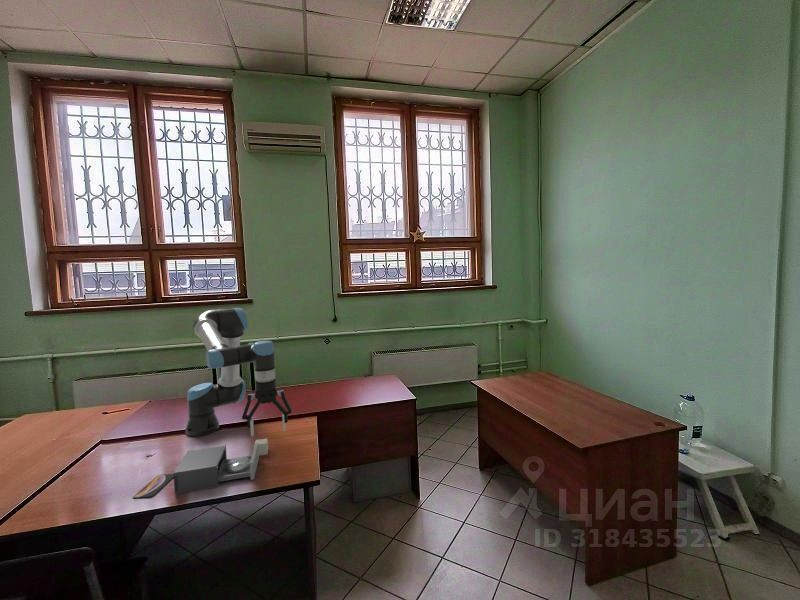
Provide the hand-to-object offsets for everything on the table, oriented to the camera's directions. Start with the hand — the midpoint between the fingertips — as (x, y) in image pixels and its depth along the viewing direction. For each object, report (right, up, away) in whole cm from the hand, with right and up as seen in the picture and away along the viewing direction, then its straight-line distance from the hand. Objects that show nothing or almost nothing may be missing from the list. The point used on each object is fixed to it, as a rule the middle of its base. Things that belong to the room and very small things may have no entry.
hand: (268, 432), depth 142 cm
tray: (-11, -14, -2) cm, 19 cm away
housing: (-23, -15, -6) cm, 29 cm away
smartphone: (-39, -17, -10) cm, 43 cm away
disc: (-11, -13, -2) cm, 17 cm away
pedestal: (-8, -14, +13) cm, 21 cm away
